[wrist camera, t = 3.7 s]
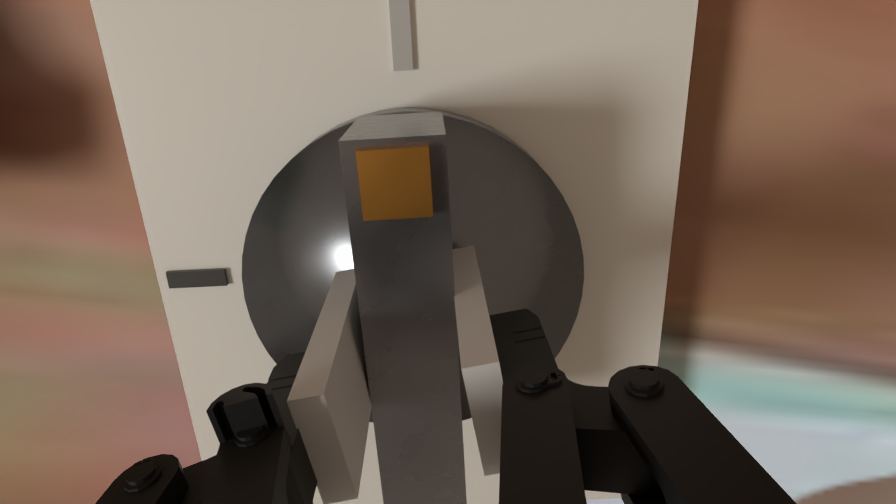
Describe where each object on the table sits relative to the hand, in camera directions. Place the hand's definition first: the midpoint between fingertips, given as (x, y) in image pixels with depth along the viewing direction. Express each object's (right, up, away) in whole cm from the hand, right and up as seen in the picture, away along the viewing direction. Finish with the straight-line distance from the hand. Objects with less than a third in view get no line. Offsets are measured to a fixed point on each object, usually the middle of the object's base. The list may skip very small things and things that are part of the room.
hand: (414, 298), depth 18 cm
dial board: (0, +2, +4) cm, 5 cm away
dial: (0, +1, +2) cm, 2 cm away
